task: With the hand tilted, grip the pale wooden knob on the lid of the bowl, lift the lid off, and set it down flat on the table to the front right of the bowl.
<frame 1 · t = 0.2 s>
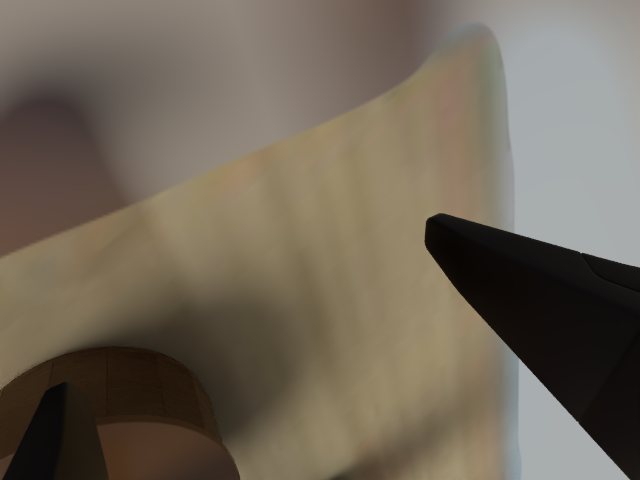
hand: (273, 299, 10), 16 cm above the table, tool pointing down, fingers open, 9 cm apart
bowl: (101, 438, 27), on the table
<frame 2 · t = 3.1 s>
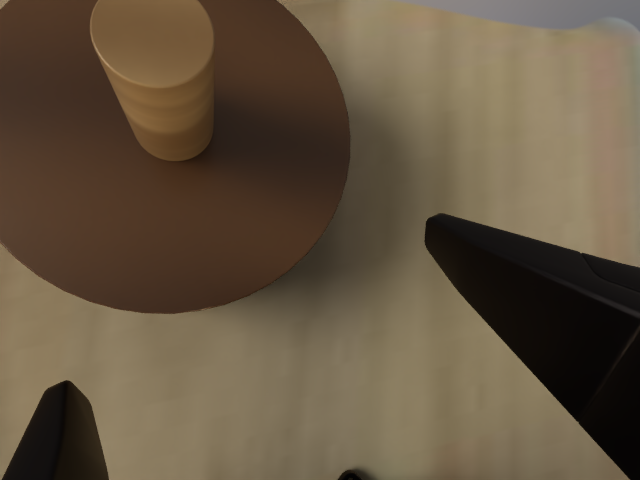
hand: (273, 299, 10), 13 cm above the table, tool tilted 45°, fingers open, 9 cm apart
lid: (175, 129, 17), point 6 cm above the table, touching bowl
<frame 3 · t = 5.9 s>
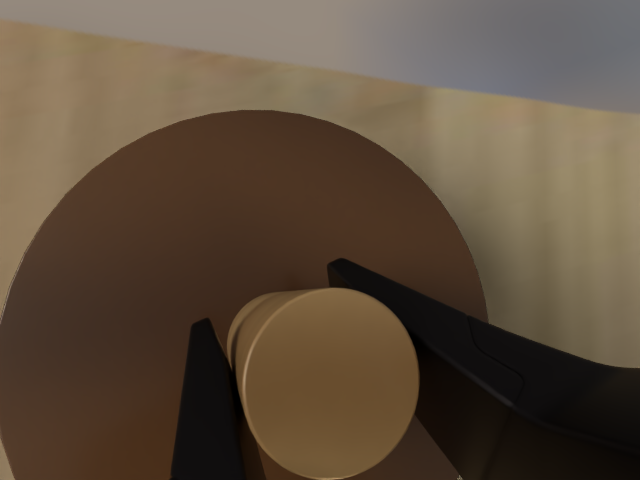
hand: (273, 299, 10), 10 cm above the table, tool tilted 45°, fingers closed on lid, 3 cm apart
lid: (275, 341, 13), point 6 cm above the table, touching bowl, gripper
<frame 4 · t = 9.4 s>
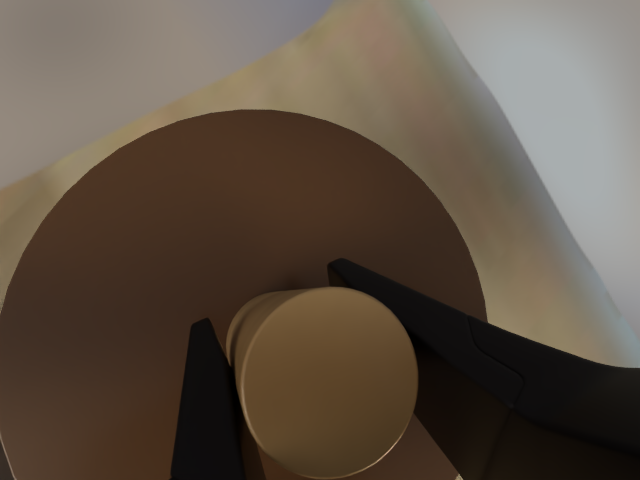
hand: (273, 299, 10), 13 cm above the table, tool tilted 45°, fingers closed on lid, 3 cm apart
lid: (275, 340, 13), point 10 cm above the table, touching gripper
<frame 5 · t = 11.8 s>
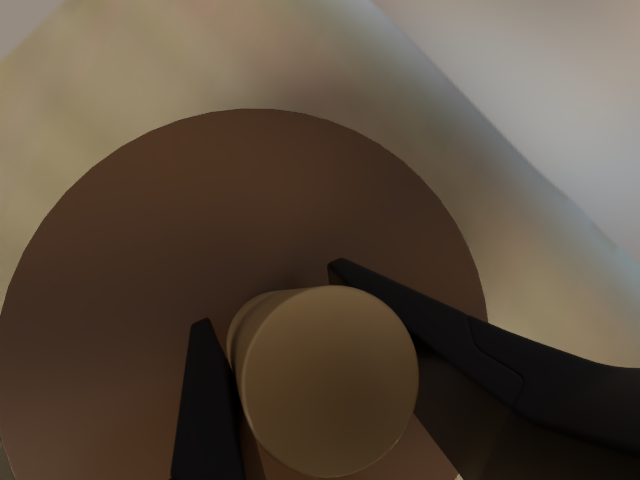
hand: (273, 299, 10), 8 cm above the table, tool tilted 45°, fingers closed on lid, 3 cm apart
lid: (275, 339, 13), point 5 cm above the table, touching gripper
when the fingers open (4 cm above the table, at t = 13.3 s): lid stays where it is, point 1 cm above the table.
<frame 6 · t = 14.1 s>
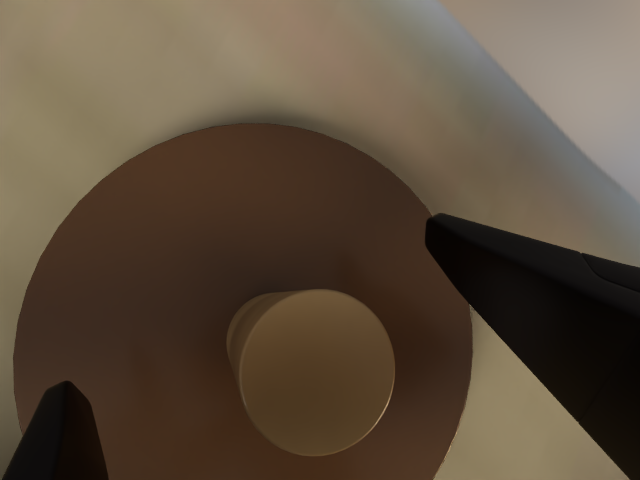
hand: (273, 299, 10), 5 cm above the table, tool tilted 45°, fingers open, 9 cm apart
lid: (271, 338, 14), point 1 cm above the table
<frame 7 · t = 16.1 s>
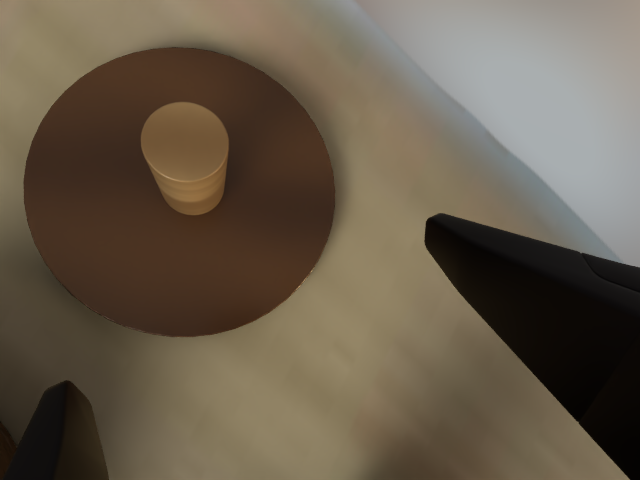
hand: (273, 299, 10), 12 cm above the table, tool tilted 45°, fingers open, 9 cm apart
lid: (193, 188, 21), point 1 cm above the table
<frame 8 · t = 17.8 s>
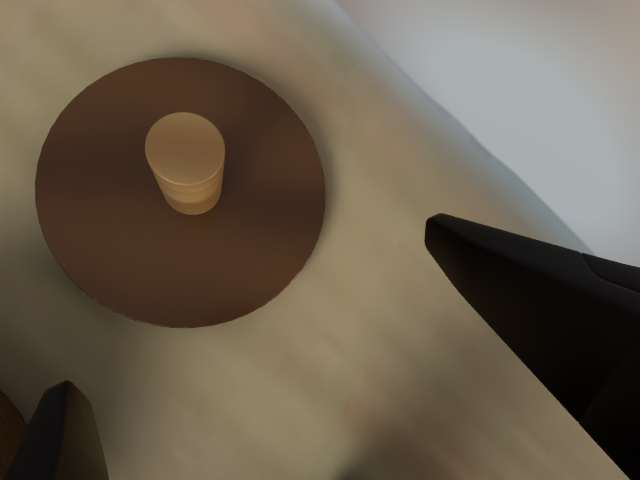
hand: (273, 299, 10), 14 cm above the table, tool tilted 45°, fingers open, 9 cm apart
lid: (192, 189, 23), point 1 cm above the table
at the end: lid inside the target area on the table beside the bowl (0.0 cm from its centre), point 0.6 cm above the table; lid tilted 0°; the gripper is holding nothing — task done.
